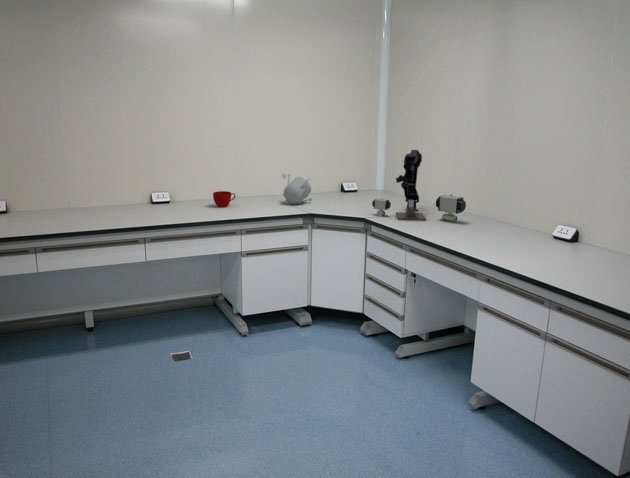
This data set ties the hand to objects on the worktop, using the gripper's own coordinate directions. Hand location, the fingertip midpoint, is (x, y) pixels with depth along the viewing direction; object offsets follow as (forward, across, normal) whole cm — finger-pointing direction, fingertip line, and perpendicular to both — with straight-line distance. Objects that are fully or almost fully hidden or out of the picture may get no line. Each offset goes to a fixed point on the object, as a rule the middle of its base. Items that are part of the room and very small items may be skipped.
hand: (407, 196), depth 360 cm
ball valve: (+14, +7, +28) cm, 32 cm away
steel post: (+12, -3, +4) cm, 13 cm away
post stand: (+14, -3, +4) cm, 15 cm away
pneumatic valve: (+14, -10, -14) cm, 22 cm away
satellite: (+8, -51, -71) cm, 88 cm away
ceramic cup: (+16, -40, -124) cm, 131 cm away
